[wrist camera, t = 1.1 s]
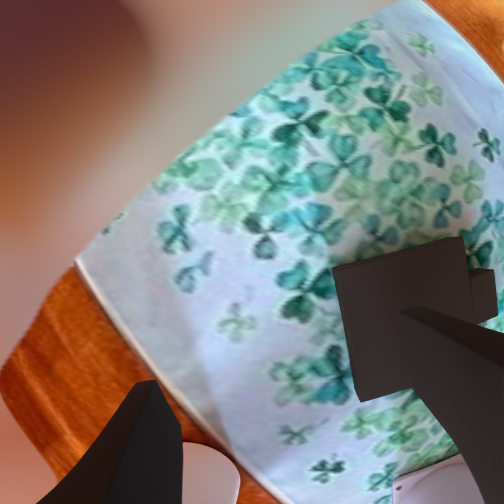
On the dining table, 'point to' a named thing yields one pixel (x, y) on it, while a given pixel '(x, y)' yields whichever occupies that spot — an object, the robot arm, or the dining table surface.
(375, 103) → the dining table surface
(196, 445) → the can
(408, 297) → the tab pad
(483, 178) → the dining table surface
